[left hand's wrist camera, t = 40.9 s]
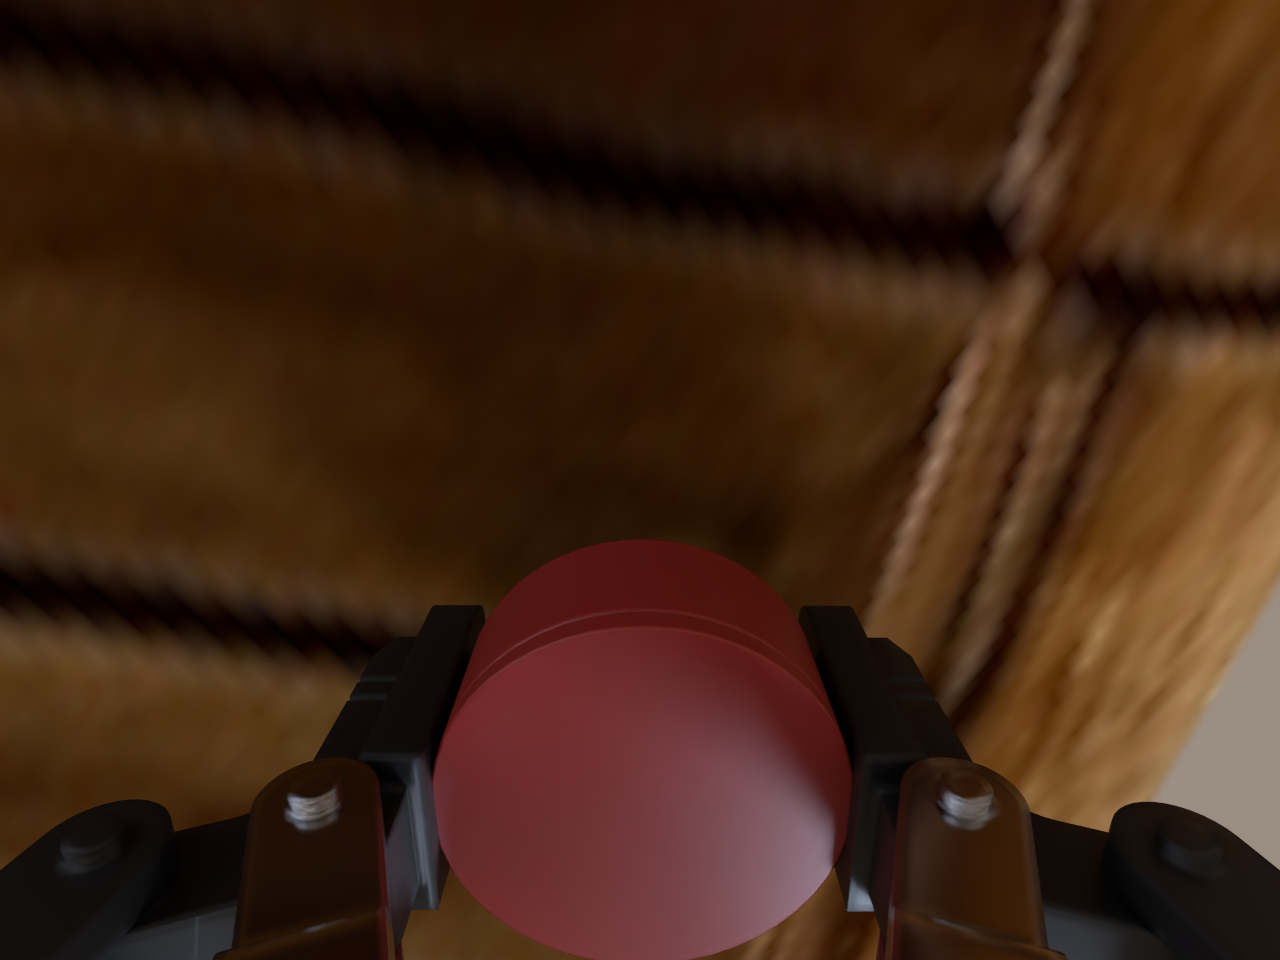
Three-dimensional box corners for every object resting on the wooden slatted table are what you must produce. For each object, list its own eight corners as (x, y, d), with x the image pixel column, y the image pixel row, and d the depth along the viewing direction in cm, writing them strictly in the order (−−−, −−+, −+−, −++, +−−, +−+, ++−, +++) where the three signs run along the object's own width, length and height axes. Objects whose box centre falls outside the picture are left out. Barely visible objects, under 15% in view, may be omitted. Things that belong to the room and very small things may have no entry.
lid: (853, 774, 12) (901, 905, 10) (548, 863, 12) (530, 1004, 10) (755, 486, 10) (785, 566, 8) (409, 603, 11) (353, 706, 9)
